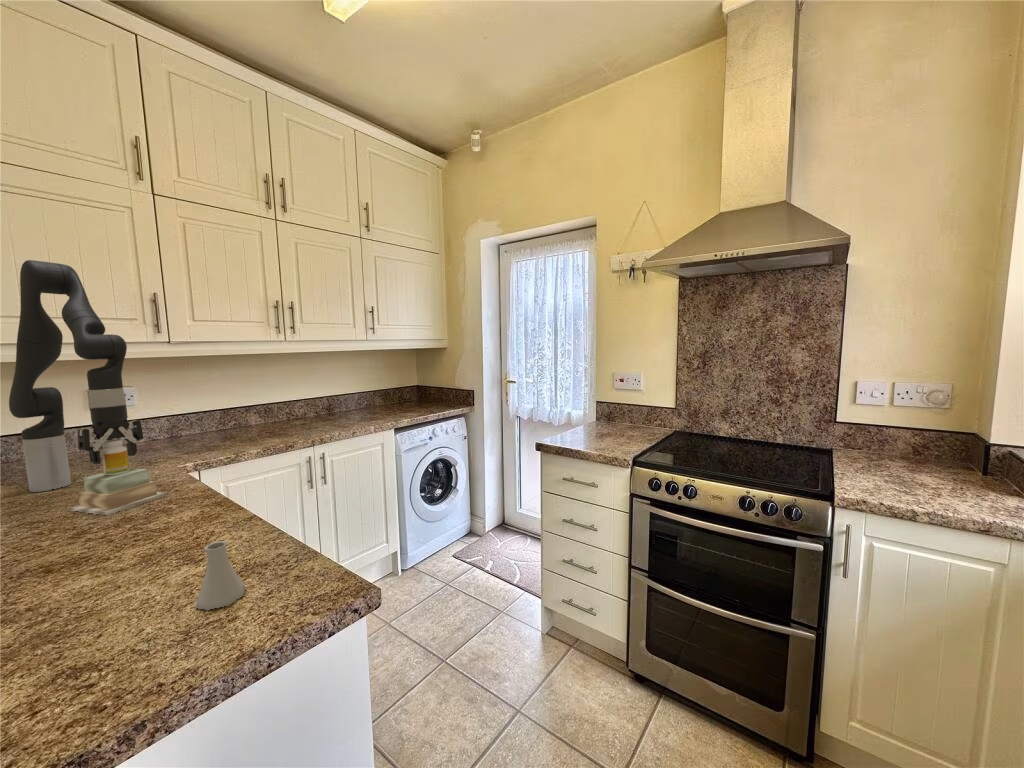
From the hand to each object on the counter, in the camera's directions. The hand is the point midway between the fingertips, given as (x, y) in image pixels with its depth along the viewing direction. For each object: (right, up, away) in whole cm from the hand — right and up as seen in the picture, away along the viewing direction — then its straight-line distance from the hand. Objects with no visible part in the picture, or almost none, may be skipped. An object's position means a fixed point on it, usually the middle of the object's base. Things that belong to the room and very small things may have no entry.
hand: (114, 459), depth 120 cm
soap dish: (0, -13, +1) cm, 13 cm away
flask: (+64, -16, -46) cm, 81 cm away
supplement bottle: (0, -4, +1) cm, 4 cm away
